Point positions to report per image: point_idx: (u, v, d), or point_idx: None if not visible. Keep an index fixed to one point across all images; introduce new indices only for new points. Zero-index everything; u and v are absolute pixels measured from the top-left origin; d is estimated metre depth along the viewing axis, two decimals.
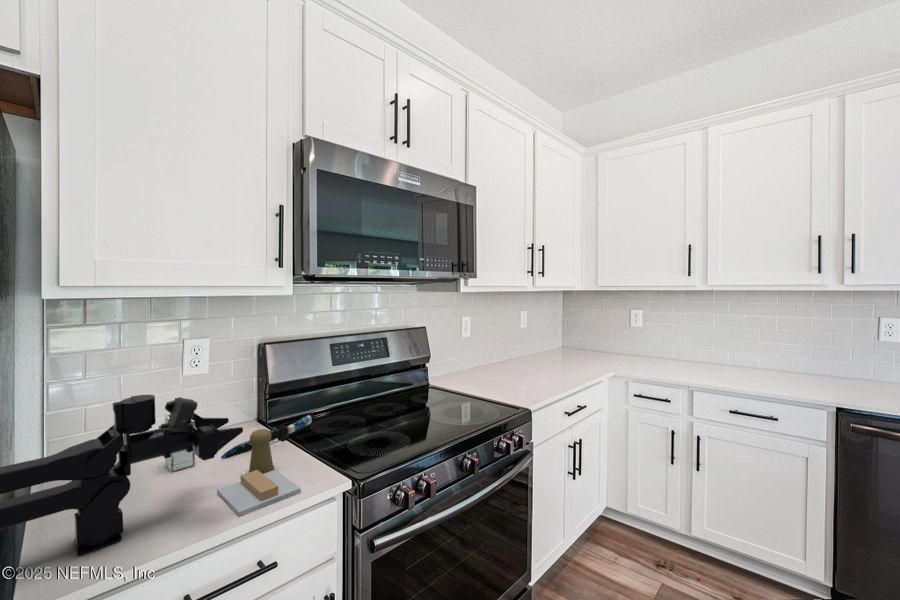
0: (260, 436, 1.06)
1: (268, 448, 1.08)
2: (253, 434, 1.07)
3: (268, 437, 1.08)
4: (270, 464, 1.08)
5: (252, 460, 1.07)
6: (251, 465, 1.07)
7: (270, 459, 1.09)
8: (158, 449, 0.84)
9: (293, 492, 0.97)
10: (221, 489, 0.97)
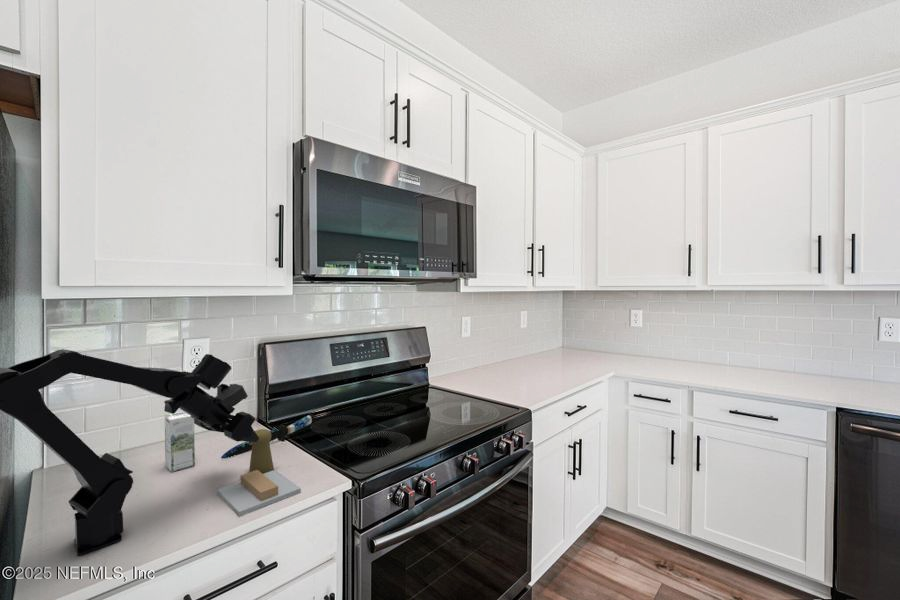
0: (260, 436, 1.06)
1: (268, 448, 1.08)
2: None
3: (268, 437, 1.08)
4: (270, 464, 1.08)
5: (252, 460, 1.07)
6: (251, 465, 1.07)
7: (270, 459, 1.09)
8: (205, 408, 0.94)
9: (293, 492, 0.97)
10: (221, 489, 0.97)
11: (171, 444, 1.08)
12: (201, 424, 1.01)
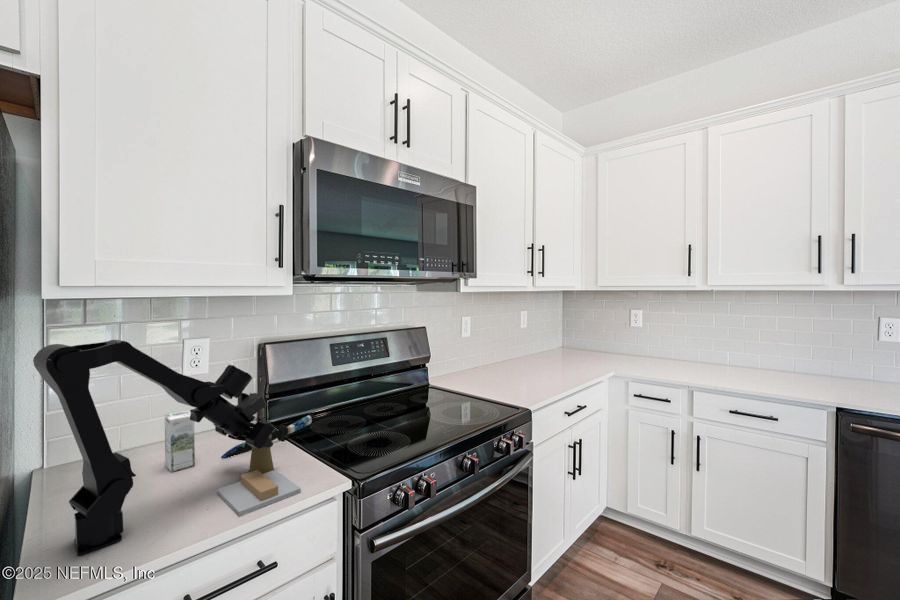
0: None
1: (268, 448, 1.08)
2: None
3: None
4: (270, 464, 1.08)
5: (252, 460, 1.07)
6: (251, 465, 1.07)
7: (270, 459, 1.09)
8: (227, 417, 0.98)
9: (293, 492, 0.97)
10: (221, 489, 0.97)
11: (171, 444, 1.08)
12: (222, 432, 1.06)
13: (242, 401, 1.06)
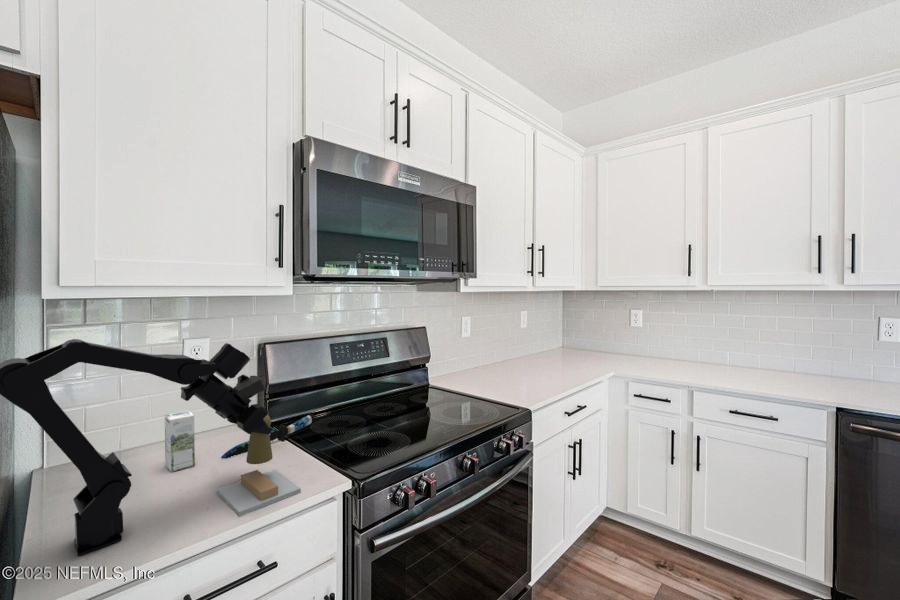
0: None
1: (266, 435, 1.02)
2: None
3: (266, 423, 1.01)
4: (268, 452, 1.02)
5: (249, 446, 1.01)
6: (248, 452, 1.01)
7: (268, 447, 1.02)
8: (219, 398, 0.93)
9: (293, 492, 0.97)
10: (221, 489, 0.97)
11: (171, 444, 1.08)
12: (220, 414, 1.01)
13: (240, 383, 1.00)
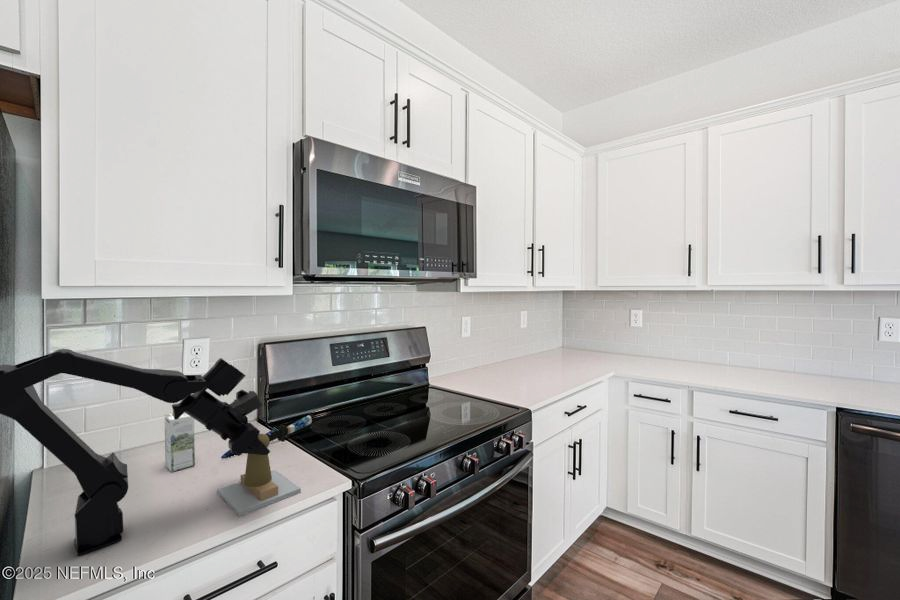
0: None
1: (263, 456, 0.96)
2: None
3: None
4: (265, 474, 0.96)
5: (246, 467, 0.96)
6: (245, 473, 0.96)
7: (266, 469, 0.97)
8: (210, 416, 0.88)
9: (293, 492, 0.97)
10: (221, 489, 0.97)
11: (171, 444, 1.08)
12: None
13: (238, 399, 0.96)
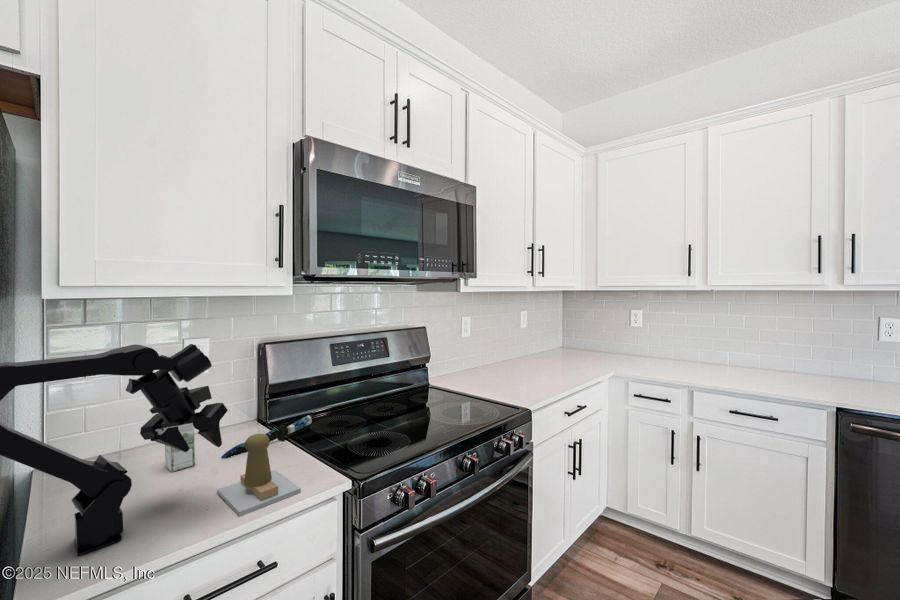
0: (253, 442, 0.95)
1: (263, 456, 0.96)
2: (248, 439, 0.96)
3: (263, 444, 0.96)
4: (265, 474, 0.96)
5: (246, 468, 0.96)
6: (245, 473, 0.96)
7: (266, 469, 0.97)
8: (174, 394, 0.87)
9: (293, 492, 0.97)
10: (221, 489, 0.97)
11: None
12: (152, 430, 0.89)
13: None
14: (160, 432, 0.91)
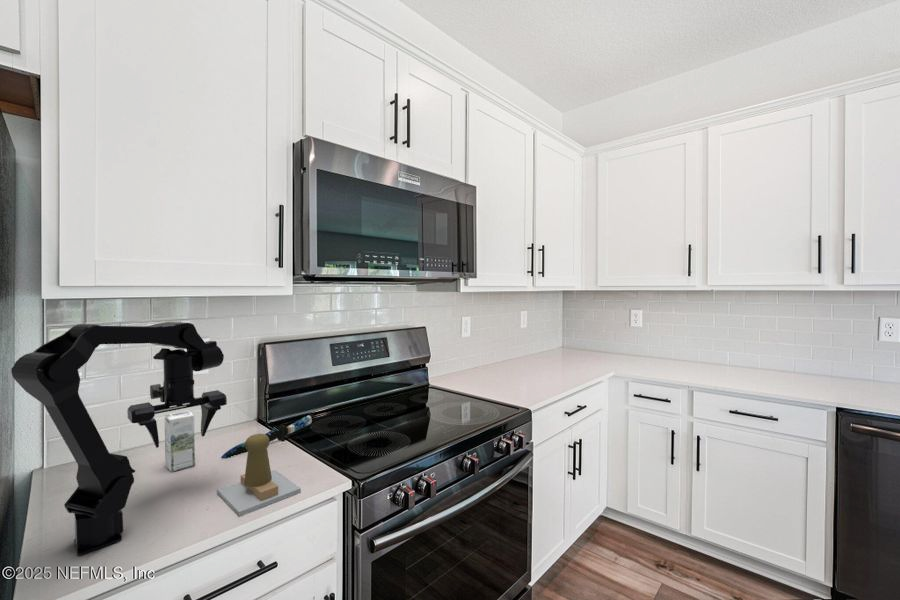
0: (253, 442, 0.95)
1: (263, 456, 0.96)
2: (248, 439, 0.96)
3: (263, 444, 0.96)
4: (265, 474, 0.96)
5: (246, 468, 0.96)
6: (245, 473, 0.96)
7: (266, 469, 0.97)
8: None
9: (293, 492, 0.97)
10: (221, 489, 0.97)
11: (171, 444, 1.08)
12: (153, 410, 0.90)
13: None
14: None
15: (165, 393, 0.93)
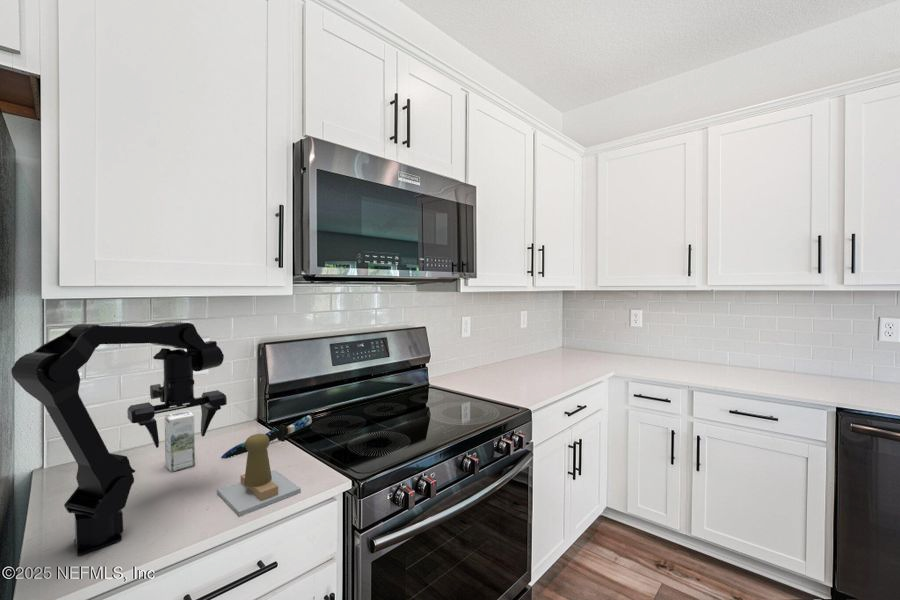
0: (253, 442, 0.95)
1: (263, 456, 0.96)
2: (248, 439, 0.96)
3: (263, 444, 0.96)
4: (265, 474, 0.96)
5: (246, 468, 0.96)
6: (245, 473, 0.96)
7: (266, 469, 0.97)
8: None
9: (293, 492, 0.97)
10: (221, 489, 0.97)
11: (171, 444, 1.08)
12: (153, 410, 0.90)
13: None
14: (153, 416, 0.90)
15: (165, 393, 0.93)
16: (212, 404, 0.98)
